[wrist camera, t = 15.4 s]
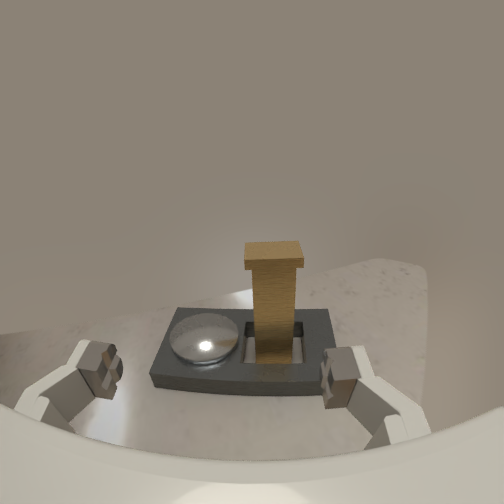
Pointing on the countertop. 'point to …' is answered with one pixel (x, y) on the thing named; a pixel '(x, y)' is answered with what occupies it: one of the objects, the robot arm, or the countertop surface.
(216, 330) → the gray socket block
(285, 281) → the wedge pin
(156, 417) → the countertop surface
